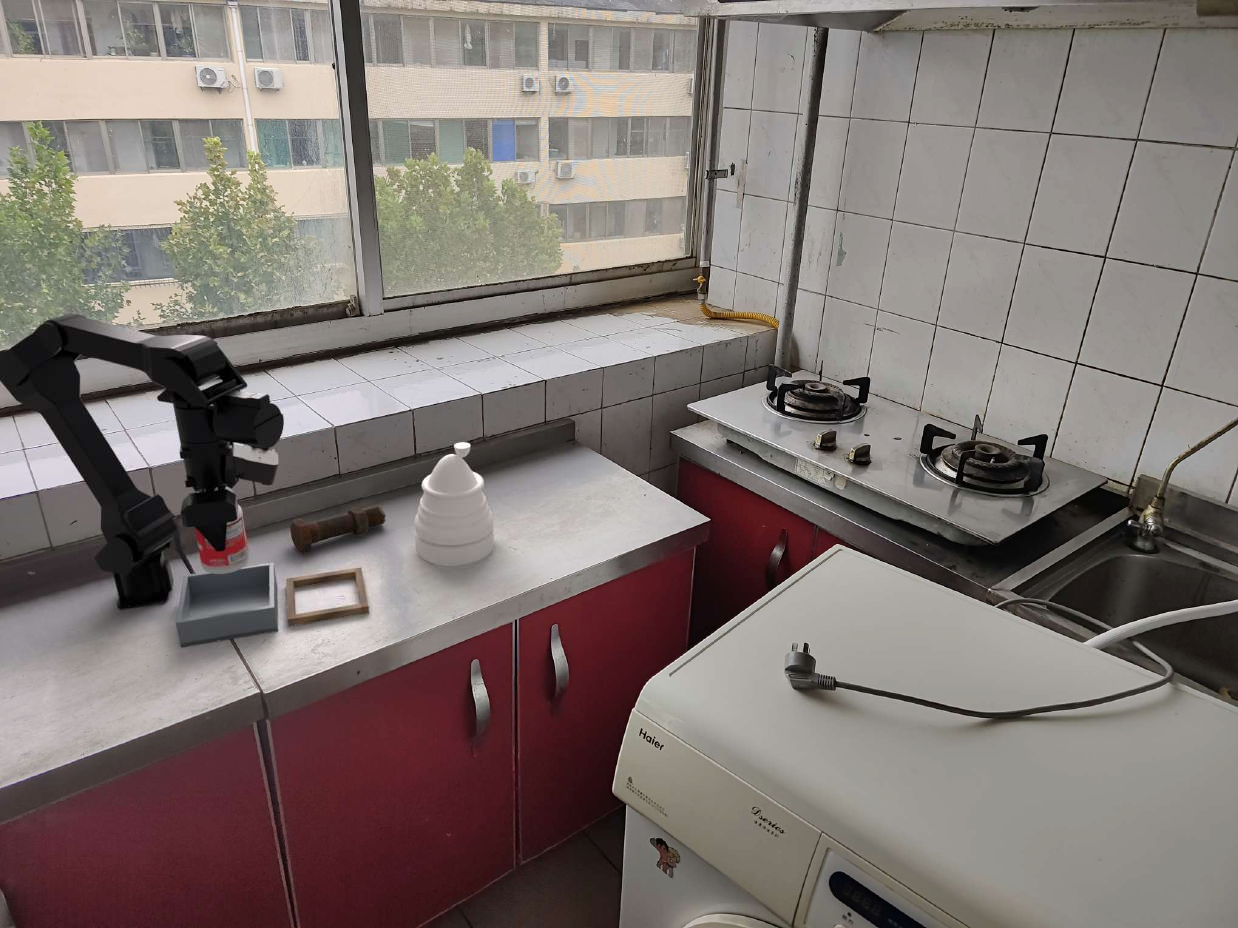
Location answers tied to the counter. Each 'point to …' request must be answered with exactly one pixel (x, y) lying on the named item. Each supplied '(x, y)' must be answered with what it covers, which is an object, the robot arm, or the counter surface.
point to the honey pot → (453, 514)
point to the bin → (227, 605)
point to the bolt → (334, 527)
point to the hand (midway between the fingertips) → (221, 538)
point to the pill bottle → (234, 551)
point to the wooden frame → (327, 613)
